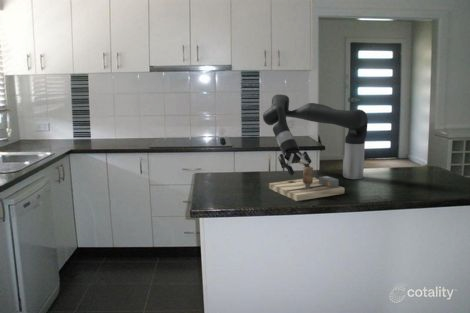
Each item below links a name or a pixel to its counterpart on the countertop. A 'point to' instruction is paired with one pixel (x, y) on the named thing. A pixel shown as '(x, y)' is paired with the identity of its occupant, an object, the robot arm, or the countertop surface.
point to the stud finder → (328, 181)
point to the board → (298, 191)
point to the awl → (307, 176)
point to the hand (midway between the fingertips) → (301, 173)
